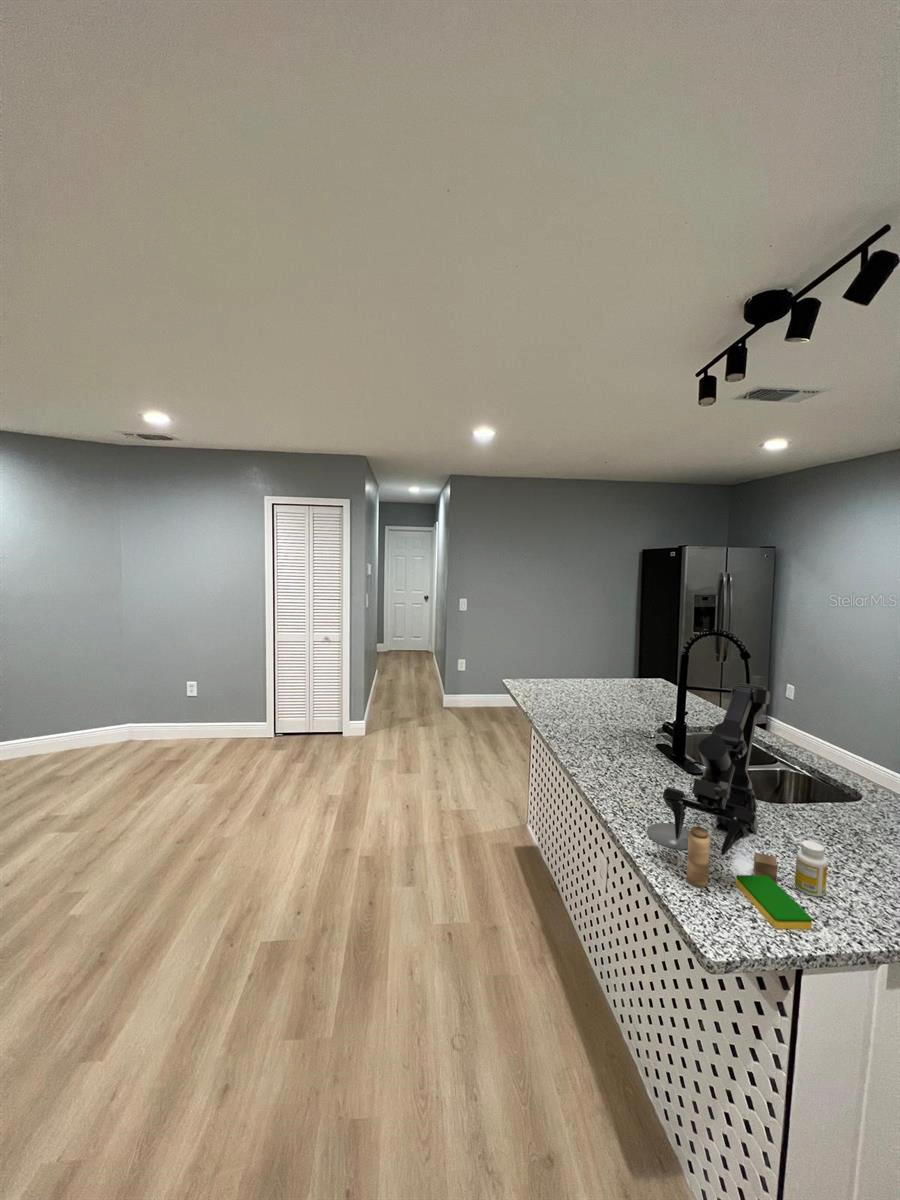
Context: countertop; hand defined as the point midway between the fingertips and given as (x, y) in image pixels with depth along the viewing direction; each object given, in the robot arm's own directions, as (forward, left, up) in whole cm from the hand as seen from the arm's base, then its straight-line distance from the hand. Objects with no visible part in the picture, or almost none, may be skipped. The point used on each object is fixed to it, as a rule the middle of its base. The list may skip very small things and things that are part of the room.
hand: (699, 846), depth 112 cm
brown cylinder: (0, 0, -8) cm, 8 cm away
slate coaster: (+12, -14, -8) cm, 20 cm away
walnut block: (-9, -13, -8) cm, 18 cm away
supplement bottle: (-17, -15, -8) cm, 25 cm away
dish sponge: (-13, -3, -9) cm, 16 cm away
